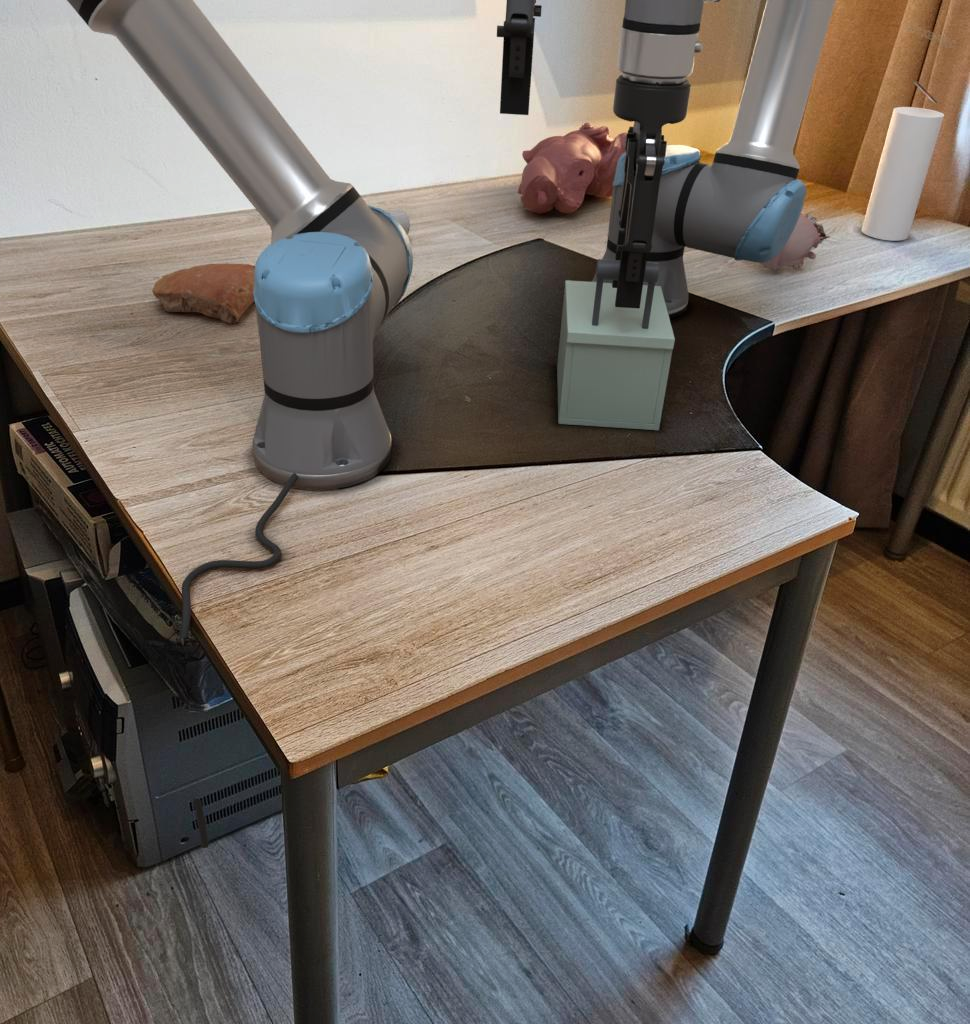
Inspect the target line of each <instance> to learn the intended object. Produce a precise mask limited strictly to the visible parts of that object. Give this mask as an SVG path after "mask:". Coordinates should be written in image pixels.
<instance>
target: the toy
mask: <svg viewBox="0 0 970 1024" xmlns="http://www.w3.org/2000/svg"><path fill="white" fill-rule="evenodd" d="M824 228H825V227H824V225H823V224H822V223H818V219H817V217H816V216H814V215H813V214H811V213H808V214H806V215H804V214H803V213H802V212H801V214H800V216H799V219H798V221H797V224H796V226H795V228H794V230H793V232H792V234H791V236H790V238H789V240H788V241H787V243H786V244H785V246H784V247H783V249H782V250H781V252H780V253H779V254H778V255H777V256H776V257H775V258H774V259H772V260H771V261H769V262H766V263H759V265H761V266H762V267H763V268H765V269H769V270H773V271H777V270H778V269H779V268H792V269H794V268H795V266H797V268H800V267H802V266H803V265H804V260H805V259H807V258H808V259H809V260H814V259H816V257H817V254H816V253H814V252H813V250H815V249H817V248H818V246H819V245H820V244H822V242H824V240H826V239H830V236H829V235H827V234H826V233H825V229H824Z"/></svg>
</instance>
